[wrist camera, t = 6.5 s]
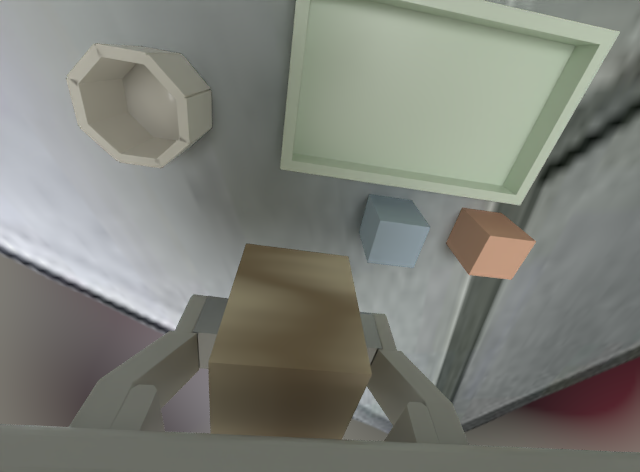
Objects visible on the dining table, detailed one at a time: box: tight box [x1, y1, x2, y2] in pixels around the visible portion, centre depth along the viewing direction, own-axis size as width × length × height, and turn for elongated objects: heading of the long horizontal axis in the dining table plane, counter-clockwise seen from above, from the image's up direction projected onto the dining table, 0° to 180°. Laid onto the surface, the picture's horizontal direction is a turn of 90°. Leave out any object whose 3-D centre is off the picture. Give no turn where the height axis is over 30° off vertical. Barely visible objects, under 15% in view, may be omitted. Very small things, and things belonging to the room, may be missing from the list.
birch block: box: [208, 244, 372, 439], centre depth 10 cm, size 4×4×5 cm
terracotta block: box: [446, 208, 536, 280], centre depth 26 cm, size 4×4×5 cm
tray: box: [280, 0, 620, 205], centre depth 21 cm, size 20×12×3 cm, turn 81°
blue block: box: [359, 194, 430, 268], centre depth 25 cm, size 4×4×5 cm
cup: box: [66, 43, 212, 168], centre depth 20 cm, size 7×7×5 cm
